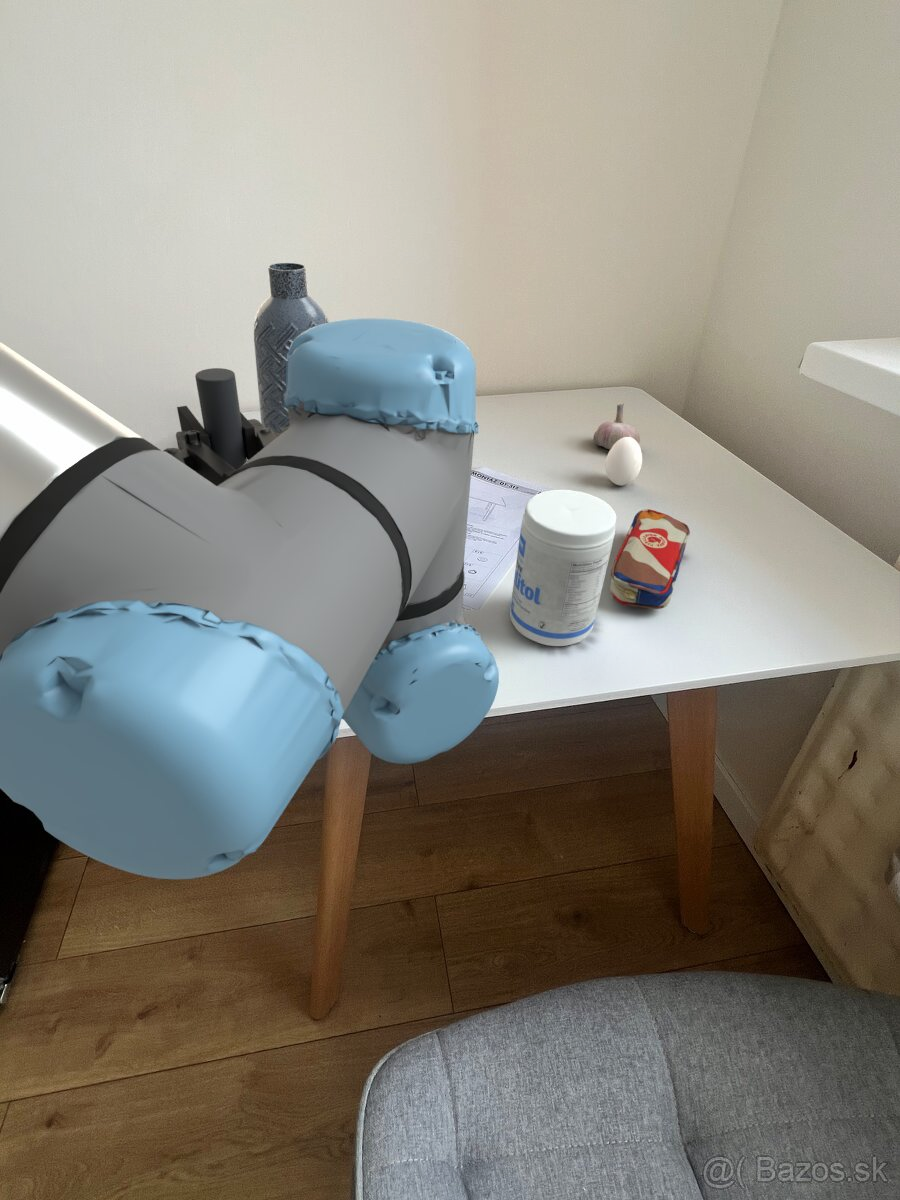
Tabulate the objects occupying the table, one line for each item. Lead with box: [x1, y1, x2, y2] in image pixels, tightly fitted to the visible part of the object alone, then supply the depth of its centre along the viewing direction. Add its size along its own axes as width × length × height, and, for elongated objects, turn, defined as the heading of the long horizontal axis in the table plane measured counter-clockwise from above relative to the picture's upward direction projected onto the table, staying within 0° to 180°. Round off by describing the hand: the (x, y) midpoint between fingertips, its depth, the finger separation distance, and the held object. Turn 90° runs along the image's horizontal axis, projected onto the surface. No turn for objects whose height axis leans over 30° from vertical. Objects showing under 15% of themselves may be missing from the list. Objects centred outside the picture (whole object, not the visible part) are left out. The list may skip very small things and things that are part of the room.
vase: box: [253, 262, 330, 433], centre depth 103 cm, size 12×12×28 cm
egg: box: [605, 437, 643, 486], centre depth 106 cm, size 5×5×8 cm
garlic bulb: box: [592, 401, 641, 451], centre depth 117 cm, size 8×7×8 cm
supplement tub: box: [509, 489, 617, 647], centre depth 75 cm, size 10×10×15 cm
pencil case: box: [609, 508, 691, 610], centre depth 87 cm, size 11×20×5 cm, turn 142°
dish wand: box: [194, 367, 248, 470], centre depth 56 cm, size 4×4×16 cm
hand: (206, 418), depth 58 cm, fingers closed on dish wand, 3 cm apart
